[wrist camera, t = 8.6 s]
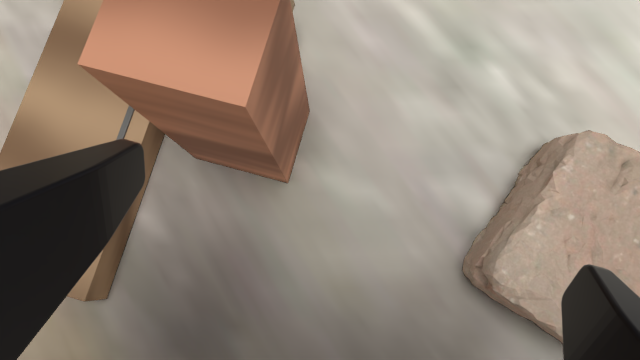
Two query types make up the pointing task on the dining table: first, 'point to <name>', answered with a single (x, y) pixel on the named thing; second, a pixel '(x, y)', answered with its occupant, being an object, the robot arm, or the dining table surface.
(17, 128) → the board
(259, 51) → the wooden block with peg
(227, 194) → the dining table surface
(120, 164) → the robot arm
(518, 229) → the brick
